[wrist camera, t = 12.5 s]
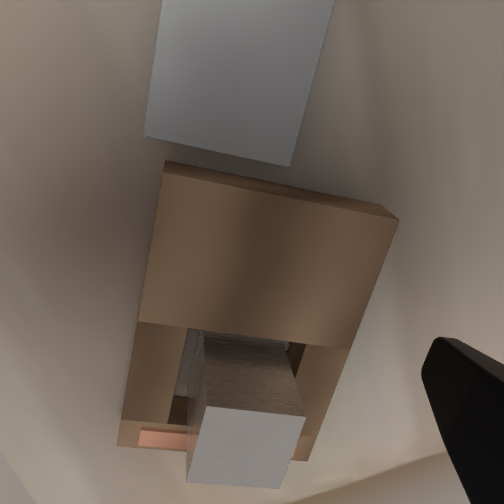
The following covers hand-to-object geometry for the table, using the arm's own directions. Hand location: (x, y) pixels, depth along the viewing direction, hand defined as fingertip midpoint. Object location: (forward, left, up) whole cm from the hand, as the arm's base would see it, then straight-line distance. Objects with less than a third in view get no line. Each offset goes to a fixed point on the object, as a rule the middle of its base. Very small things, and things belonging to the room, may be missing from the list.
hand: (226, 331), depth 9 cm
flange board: (-3, +7, -12) cm, 14 cm away
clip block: (-3, +9, -12) cm, 15 cm away
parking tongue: (0, -5, -12) cm, 13 cm away
